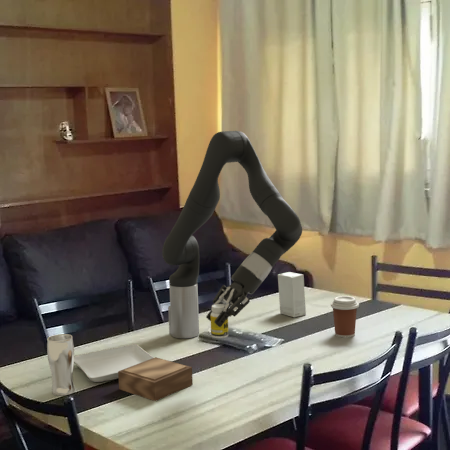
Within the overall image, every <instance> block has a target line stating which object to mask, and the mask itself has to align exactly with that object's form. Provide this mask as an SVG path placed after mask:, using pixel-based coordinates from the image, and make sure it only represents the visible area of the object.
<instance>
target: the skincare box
mask: <svg viewBox="0 0 450 450" xmlns="http://www.w3.org/2000/svg"><path fill="white" fill-rule="evenodd" d="M277 282H278V297H279V300H278V301H279V314H281V315H284V316H288V317H292V318H298V317H303V316H306V315H307V314H306V313H307V310H306V307H307V306H306V297H305V295H306V293H305V292H306V291H305V278H304V274H302V273H296V272H291V271H288V272H287V271H286V272H283V273H279V274H277Z"/></svg>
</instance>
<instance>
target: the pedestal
mask: <svg viewBox="0 0 450 450" xmlns="http://www.w3.org/2000/svg"><path fill="white" fill-rule="evenodd" d="M193 380H194V379H193V367H192V366H190V365H184V364H182V363H178V362H174V361H170V360H169V359H168V360H167V359H163V358H159V357H154V358H152V359H150V360H147V361H144V362H142V363H139V364H136V365H134V366H131V367H129V368H126V369H123V370H121V371H118V389H119V390H121V391H123V392H126V393H130V394H133V395H136V396H138V397H141V398H145V399H147V400H151V401H153V402H157V401H159V400H162V399H164V398H166V397H168V396H171V395H173V394H176V393H178V392H180V391H182V390H184V389H187V388H188V387H191V386H193V383H194V382H193Z"/></svg>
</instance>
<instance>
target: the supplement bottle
mask: <svg viewBox="0 0 450 450" xmlns="http://www.w3.org/2000/svg"><path fill="white" fill-rule="evenodd" d="M225 306H226V305H224V303H223V304H215V305H214V304H212V305H211V310H212V313H211V321H210V336H211V337H212V338H214V339H224V338H225V339H226V338H227V337H229V317H228V318H227V320H226V321H225V322H224V323H223V325H222V326H221V327H219V326H217V325H216V324H215V323H214V321H215V320H216V318H217V317H218V316H219V315H220V313H221V312H222V311H223V310H224V308H225ZM223 312H224V311H223Z"/></svg>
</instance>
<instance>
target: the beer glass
mask: <svg viewBox="0 0 450 450" xmlns="http://www.w3.org/2000/svg"><path fill="white" fill-rule="evenodd" d="M46 341H47V343H46V348H47V349H46V350H47V351H46V352H47V353H46V354H47V361H48V365H49V369H50V372H51V374H50V375H51V378H52V379H51V380H52V386H51V394H52V395H53V396H56V397H62V396H69V395H71V394H73V393H74V392H76V388H75V383H74V379H73V378H74V377H73V375H74V365H75V364H74V356H75V346H74V340H73V335H71V334H66V333H61V334H60V333H59V334H53V335H50V336H49V337H48V338H47V339H46Z"/></svg>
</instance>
